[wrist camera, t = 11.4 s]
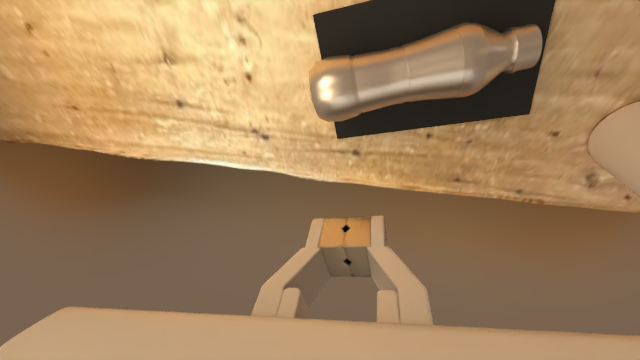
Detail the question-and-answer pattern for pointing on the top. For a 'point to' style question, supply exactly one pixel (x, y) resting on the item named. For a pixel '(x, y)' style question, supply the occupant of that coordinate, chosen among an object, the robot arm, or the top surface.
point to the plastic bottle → (421, 69)
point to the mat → (417, 23)
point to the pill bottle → (619, 145)
